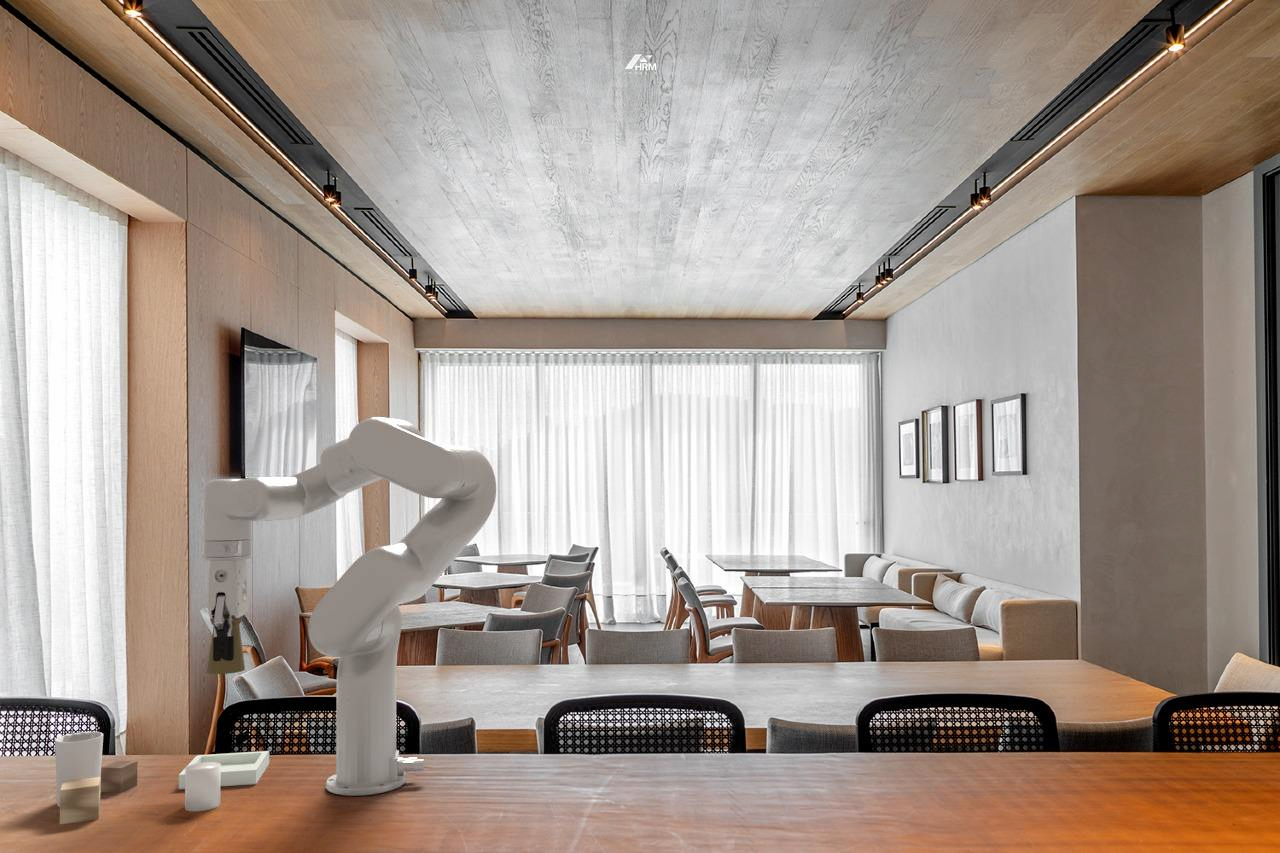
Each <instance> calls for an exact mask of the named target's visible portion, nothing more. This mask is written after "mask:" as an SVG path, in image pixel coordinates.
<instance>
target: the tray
mask: <svg viewBox="0 0 1280 853" xmlns="http://www.w3.org/2000/svg"><path fill="white" fill-rule="evenodd" d="M203 762H217V763H220V764H221V787H230V786H232V787H233V786H247V785H248V786H249V785H257V784H258V782H259V781H260V779H261V777H262V776H263V775H264V773H265V771H266V770H267V768H268V766H269V765H270V751H269V750H264V751H263V750H262V751H247V752H229V753H216V754H215V753H214V754H198V755H197V754H196V756H195V757H194V758H193V759H192V760H191V761H190V762H189V763H188V765H186V767H188V766H190V765H193V764H197V763H203ZM178 790H185V768H183V770H181V772H180V773H179V774H178Z"/></svg>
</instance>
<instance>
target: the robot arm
mask: <svg viewBox="0 0 1280 853" xmlns="http://www.w3.org/2000/svg"><path fill="white" fill-rule="evenodd" d="M381 480H384V481H385V480H386V481H387V482H390V483H392V484H395V485H397V486H399V487H401V488H403V489H405V490H408V491H410V492H412V493H413V494H416V495H420V496H421V497H425V498H429V499H440V500H439V502H437V504H435V505H434V506H433V507H431V509H430V510H428V511H427V512H426V513H425V514H424V515H423V516H422V517H420V519H419V520H418V522H417V523H416V524H415V525H414V526H413V528H412V529H411V530H409V532H408V533H407V534H406V535H405V536H404V537H402V538H401V539H400V540H399V541H397V542H396V543H393V544H389V545H382V546H378V547H374V548H372V549H370V550H368V551H366V552H364V553H363V554H361V555H360V556H359V557H358V558H357V559H355V561H354V562H353V563H352V564H351V565H350V566H349V567H348V569H347V570H346V571H345V572H344V573H343V574H342V575H341V576H340V578H339V579H338V580H337V581H336V582H335V583H334V585H332V587H331V588H330V589H329V590H328V591H327V592H326V594H325V595H324V596H323V597H322V598H321V599H320V601H319V602H318V603H317V605H316V606H315V607H314V609H313V611H312V613H311V614H310V616H309V617H310V618H309V621H308V625H307V626H308V628H307V630H308V638H309V640H310V641H309V642H310V643H311V644H312V646H313V648H314V649H315V650H316V651H317V652H318V653H320V654H322V655H324V656H326V657H329V658H339V659H338V664H337V671H336V718H335V719H336V721H335V722H336V726H335V727H336V732H335V733H336V741H335V742H336V745H335V746H336V750H335V751H336V752H335V754H336V755H335V760H336V761H335V763H336V765H335V766H336V767H335V768H336V769H335V770H336V771H335V774H333V775H331V776H329V777H328V778H327V779H326V782H325V788H326V790H327V791H328V792H330V793H331V794H335V795H340V796H350V797H351V796H369V795H370V796H371V795H377V794H382V793H386V792H390V791H393V790H396V789H398V788H400V787H402V786H403V785H404V784H405V783H406V781H407V774H406V773H407V772H413V773H419V772H420V773H421V772H424V771H425V759H424V758H422V759H421V758H420V759H418V756H417V757H407V758H403V756H400V750H399V749H397V675H398V674H397V670H398V669H397V666H398V665H397V663H398V651H399V644H400V639H401V634H402V633H401V631H402V614H401V613H402V612H401V609H400V607H399V605H403V604H406V603H410V602H413V601H415V600H418V599H420V598H422V597H423V596H425V594H426V593H427V592H428V591H429V590H430V589H431V588H432V586H433V585H434V584H435V583H436V581H437V580H438V579H439V578H440V577H441V576H442V574H443V573H445V571H447V569H448V568H450V566H451V565H452V564H453V562H454V561H456V559H457V557H458V556H459V555H460V553H461V552H462V551H463V550H464V549H465V548H466V547H467V545H469V543H470V542H471V541H472V540H473V539H474V538H475V537H476V536H477V534H478V533H479V532H480V530H481V529H482V528H483V527H484V526H485V524H486V522H487V521H488V519H489V517H490V515H491V514H492V511H493V508H494V505H495V502H496V496H497V482H496V476H495V473H494V470H493V467H492V465H491V463H490V461H489V460H488V458H487V457H486V456H485V455H484V454H483V453H481V452H480V451H479V450H477V449H474V448H472V447H468V446H463V445H454V444H452V445H450V444H440V443H437V442H434V441H433V440H429V439H427V438H425V437H423V435H422V433H421V431H420V430H419V429H418V428H417V426H416V425H414V424H413V423H411V422H409V421H407V420H403V419H399V418H397V419H396V418H389V417H382V416H373V417H369V418H366V419H364V420H362V421H360V422H359V423H358V424H356V425H355V426H354V427H353V428H352V430H351V431H350V433H349V436H348V438H347V437H346V439H341V441H338V442H335V443H333V444H330V445H328V446H327V447H324V449H323V450H322V452H321V455H320V463H319V464H317V465H315V466H313V467H310V468H308V469H305V470H304V471H301V472H298V473H296V474H294V475H289V476H257V477H249V478H248V477H247V478H221V479H220V478H219V479H217V478H216V479H212V480H209V481H207V482H206V484H205V487H204V510H203V512H204V518H203V521H204V522H203V523H204V524H203V526H204V528H203V529H204V531H203V560H204V561H209V571H208V596H207V598H208V599H207V602H208V603H207V607H208V608H207V610H208V617H209V619H210V618H212V619H214V626H213V627H214V637H213V660H214V661H220V660H221V658H222V659H224V660H226V661H231V660H233V659H234V636H232V627H233V615H234V616H235V618H239V617H241V616H242V615H243V616H244V615H246V614H247V613H248V612H249V609H250V597H249V596H250V594H249V572H248V571H249V570H248V563H247V562H248V561H247V559H251V558H252V522H272V521H273V522H274V521H283V520H284V521H288V520H293V519H294V520H295V519H298V518H301V517H303V516H306V515H308V514H310V513H314V512H316V511H319V510H322V509H323V508H325V507H329V506H331V505H332V504H334V503H337V501H339V500H340V499H342V498H344V497H345V496H346V495H348V494H349V493H352V492H353V491H356V490H358V489H361V488H363V487H366V486H368V485H371V484H373V483H376V482H378V481H381ZM214 608H215V614H212V613H213V610H214ZM224 614H229V618H224ZM214 615H215V617H213V616H214ZM227 622H228V624H227ZM240 625H241V623H240V624H239V626H240ZM240 627H241V626H240Z"/></svg>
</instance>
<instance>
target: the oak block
mask: <svg viewBox="0 0 1280 853" xmlns="http://www.w3.org/2000/svg"><path fill="white" fill-rule="evenodd" d="M101 793H102V792H101V777H95V778H87V779H79V780H71V781H63V784H62V787H61V790H60V807H59V825H67V824H73V823H74V824H75V823H81V822H87V821H88V822H89V821H94V820H99V818H100V814H101V813H100V812H101Z"/></svg>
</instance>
